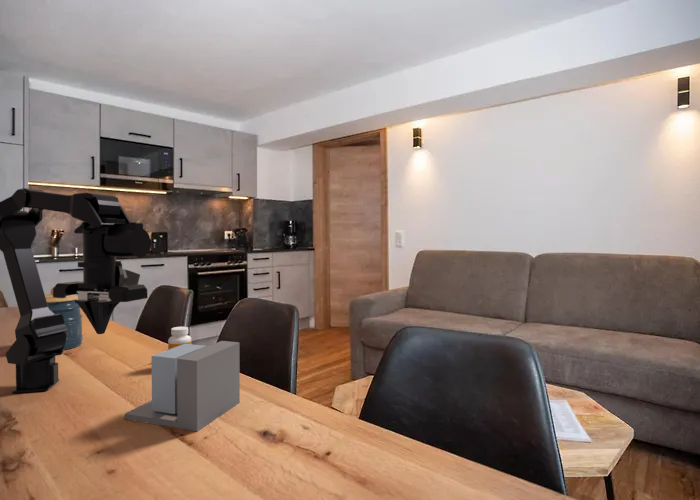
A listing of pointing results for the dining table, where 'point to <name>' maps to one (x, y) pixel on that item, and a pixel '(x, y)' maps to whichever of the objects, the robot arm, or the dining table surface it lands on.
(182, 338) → the supplement bottle
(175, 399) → the blue-gray rectangular block
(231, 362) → the plate
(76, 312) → the canister
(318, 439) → the dining table surface
